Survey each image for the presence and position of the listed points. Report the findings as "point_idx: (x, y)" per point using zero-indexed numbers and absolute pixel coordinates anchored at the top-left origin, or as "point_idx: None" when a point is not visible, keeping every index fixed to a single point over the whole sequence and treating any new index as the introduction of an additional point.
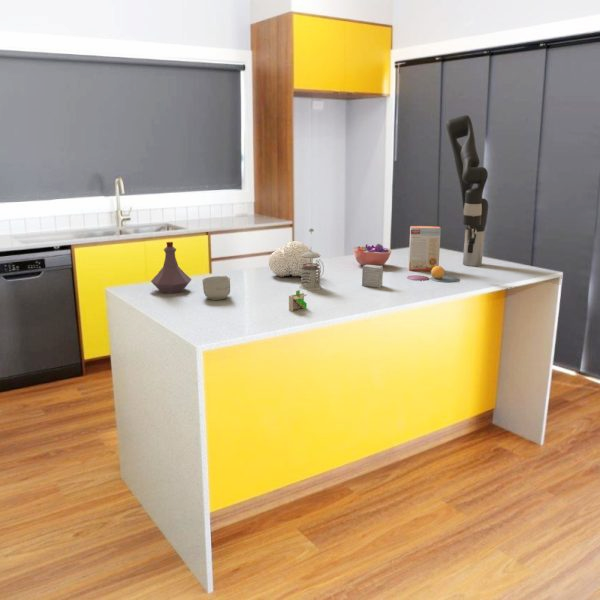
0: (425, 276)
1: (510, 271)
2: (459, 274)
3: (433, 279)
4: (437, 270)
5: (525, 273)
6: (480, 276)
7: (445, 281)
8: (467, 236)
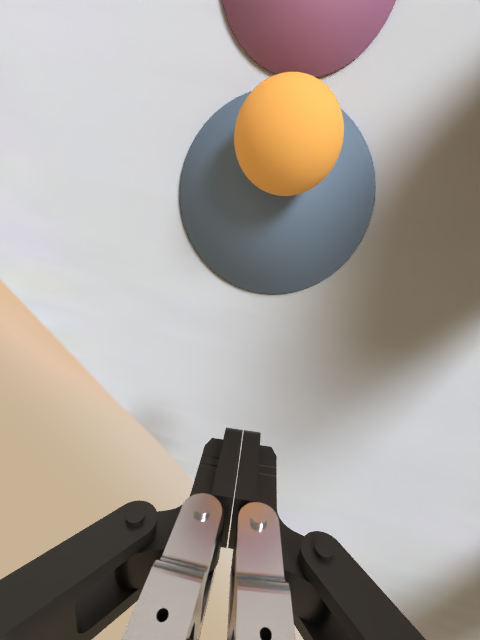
0: (354, 52)
1: (458, 577)
2: (417, 328)
3: None
4: (240, 117)
5: (405, 611)
6: (353, 424)
7: (196, 187)
8: (149, 621)
